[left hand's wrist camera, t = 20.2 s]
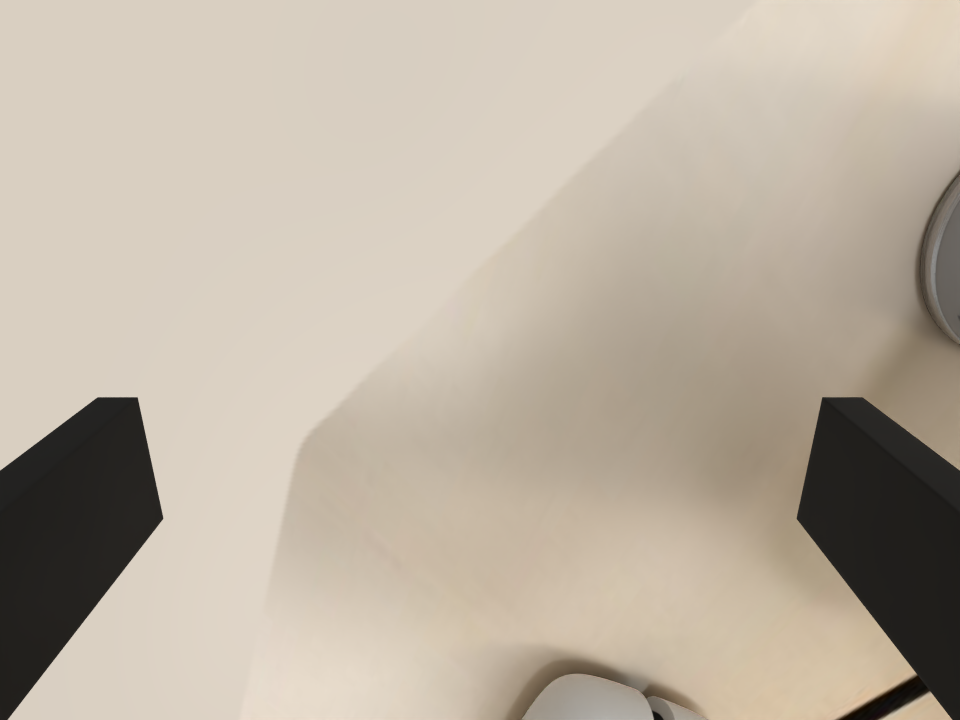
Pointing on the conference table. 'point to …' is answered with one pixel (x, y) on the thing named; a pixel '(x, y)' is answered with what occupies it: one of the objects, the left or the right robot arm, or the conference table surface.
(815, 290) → the conference table surface
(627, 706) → the projector
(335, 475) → the conference table surface
